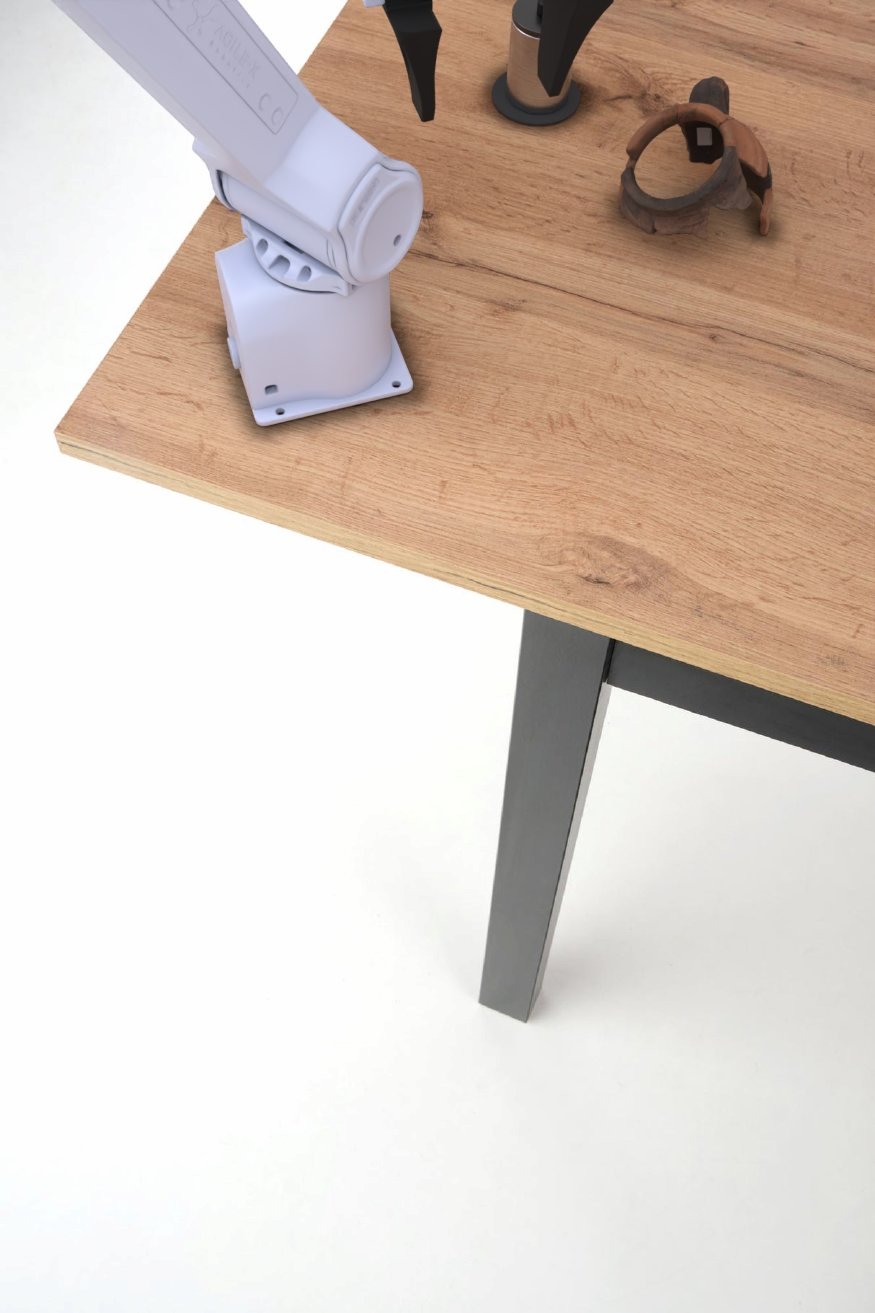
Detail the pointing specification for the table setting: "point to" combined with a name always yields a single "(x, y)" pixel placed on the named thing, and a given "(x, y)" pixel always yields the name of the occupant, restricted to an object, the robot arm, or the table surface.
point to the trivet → (533, 119)
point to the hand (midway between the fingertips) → (486, 97)
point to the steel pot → (529, 62)
